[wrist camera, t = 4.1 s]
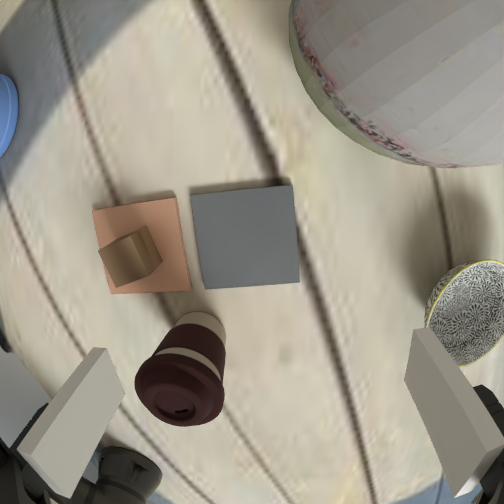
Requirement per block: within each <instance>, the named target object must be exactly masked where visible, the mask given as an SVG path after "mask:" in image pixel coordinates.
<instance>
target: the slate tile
mask: <svg viewBox="0 0 504 504" xmlns="http://www.w3.org/2000/svg"><path fill="white" fill-rule="evenodd" d="M190 197H191V205H192V211H193V218H194V225H195V231H196V238H197V244H198V250H199V257H200V263H201V269H202V274H203V280H204V286H205V289H219V288H234V287H248V286H261V285H274V284H286V283H298V282H300V279H299V263H298V247H297V233H296V220H295V207H294V195H293V185H281V186H270V187H259V188H249V189H239V190H230V191H221V192H213V193H204V194H196V195H191V196H190Z"/></svg>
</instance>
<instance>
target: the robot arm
mask: <svg viewBox="0 0 504 504" xmlns="http://www.w3.org/2000/svg"><path fill="white" fill-rule="evenodd" d="M404 381H405V383H406V385H407V387H408V389H409V391H410V393H411V396H412V398H413V400H414V402H415V404H416V406H417V409H418V411H419V413H420V415H421V418H422V420H423V422H424V424H425V427H426V429H427V431H428V434H429V436H430V438H431V441H432V443H433V445H434V448H435V450H436V453H437V455H438V458H439V460H440V462H441V465H442V468H443V470H444V473H445V475H446V478H447V480H448V483H449V486H450V488H451V491H452V494H453V497H454V498H456V497H458V496H461V495H463V494H466V493H468V492H470V491H473V490H474V488H475V487H476V486H477V485H478V483H479V482H480V483H481V486H482V490H481V491H480V492H479V493H478V494H477V496H476V497H475V498H474V499H473V501H472V502H471V503H472V504H474V503H475V502H476V500H477V502H476V504H504V408H503V407H502V405H501V404H500V403H499V401H498V399H497V398H496V396H495V395H494V394H493V392H492V391H491V390H489V389H488V388H486V387H485V386H483V385H479V386H476V387H472V386H471V384H470V383H469V381H468V380H467V379H466V377H465V376H464V374H463V373H462V371H461V370H460V368H459V367H458V366H457V364H456V363H455V361H454V360H453V358H452V357H451V356H450V354H449V353H448V352H447V350H446V349H445V347H444V346H443V345H442V343H441V342H440V341H439V339H438V338H437V337H436V335H435V334H434V333H433V331H432V330H431V329H430V327H426V328H421V329H415V330H413V335H412V341H411V347H410V353H409V358H408V364H407V369H406V374H405V378H404ZM124 395H125V392H124V389H123V387H122V385H121V382H120V380H119V378H118V375H117V373H116V371H115V368H114V366H113V363H112V361H111V358H110V356H109V353H108V350H107V348H94V347H93V348H92V350H91V351H90V352H89V353H88V355H87V356H86V357H85V358H84V360H83V361H82V362H81V363H80V365H79V366H78V367H77V368H76V370H75V371H74V372H73V373H72V375H71V376H70V377H69V379H68V380H67V381H66V382H65V384H64V385H63V386H62V388H61V389H60V390H59V392H58V393H57V394H56V395H55V397H54V398H53V399H52V401H51V402H50V403H46V404H45V405H44V406H42V407H41V408H40V409H38V411H37V412H36V413H35V415H34V416H33V417H32V420H30V421H29V423H28V424H27V426H26V427H25V428H24V429H23V431H22V432H21V433H20V435H19V436H18V438H17V439H16V441H15V442H14V443H13V445H12V446H11V447H10V448H8V447H7V446H6V444H5V443H4V442H3V440H2V439H1V438H0V504H145V503H146V500H147V499H148V498H149V496H150V495H151V494H152V493H153V492H154V491H155V489H156V488H157V487H158V486H159V484H160V482H161V479H162V473H161V471H160V469H159V468H158V467H157V466H156V465H155V464H154V463H153V462H151V461H150V460H148V459H147V458H145V457H143V456H142V455H140V454H137V453H135V452H133V451H130V450H127V449H123V448H119V447H107V448H105V449H104V450H103V451H102V453H101V455H100V457H99V468H98V480H97V482H96V484H94V483H92V482H90V481H89V480H87V479H85V478H84V477H82V474H83V472H84V470H85V468H86V466H87V464H88V462H89V461H90V459H91V457H92V455H93V453H94V451H95V449H96V447H97V445H98V443H99V441H100V439H101V438H102V436H103V434H104V432H105V430H106V428H107V426H108V424H109V423H110V421H111V419H112V417H113V415H114V413H115V411H116V410H117V408H118V406H119V404H120V402H121V401H122V399H123V397H124Z"/></svg>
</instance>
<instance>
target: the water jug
mask: <svg viewBox="0 0 504 504" xmlns="http://www.w3.org/2000/svg"><path fill="white" fill-rule="evenodd" d="M18 108H19V104H18V94H17V90H16V87H15V85H14V83H13V81H12V80H11V79H10V78H9V77H8V76H6V75H4V74H0V157H1V156H2V155H3V154H4V152H5V151H6V149H7V148H8V146H9V144H10V142H11V140H12V137H13V135H14V132H15V128H16V124H17V118H18Z"/></svg>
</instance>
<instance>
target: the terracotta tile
mask: <svg viewBox="0 0 504 504" xmlns="http://www.w3.org/2000/svg"><path fill="white" fill-rule="evenodd" d="M92 213H93V219H94V224H95V229H96V233H97V238H98V243H99V247H100V249H102V248H103V247H105V246H106V245H108V244H109V243H111V242H113V241H114V240H116V239H118V238H120V237H122V236H125V235H127V234H129V233H131V232H133V231H136V230H138V229H140V228H142V227H145V226H147V228H148V230H149V232H150V234H151V236H152V239H153V241H154V243H155V245H156V248H157V250H158V252H159V254H160V256H161V258H162V261H163V262H162V263H161V264H160V265H159V266H158V267H157V268H156V269H155V270H154V271H153V272H152V273H151V275H150V276H148V277H145V278H142V279H139V280H137V281H134V282H131V283H129V284H126V285H123V286H121V287H118V288H116V287H115V285H114V283H113V281H112V279H111V277H110V275H109V273H108V271H107V269H106V267H105V265H104V268H105V272H106V276H107V280H108V284H109V287H110V291H111V294H127V293H149V292H169V291H187V290H191V288H192V287H191V282H190V276H189V271H188V265H187V260H186V254H185V248H184V243H183V237H182V231H181V224H180V218H179V212H178V205H177V198H176V197H174V198H166V199H159V200H152V201H146V202H139V203H133V204H127V205H120V206H114V207H108V208H103V209H97V210H93V211H92ZM103 264H104V263H103Z"/></svg>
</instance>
